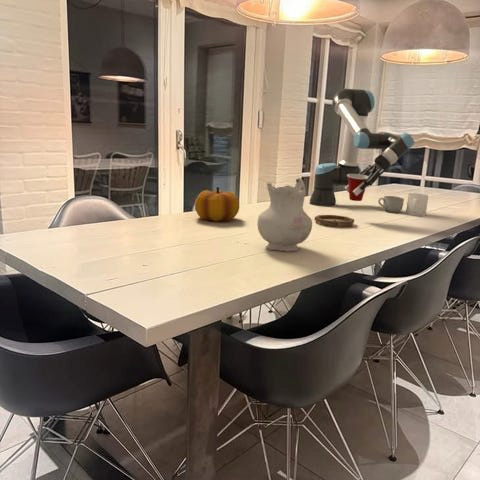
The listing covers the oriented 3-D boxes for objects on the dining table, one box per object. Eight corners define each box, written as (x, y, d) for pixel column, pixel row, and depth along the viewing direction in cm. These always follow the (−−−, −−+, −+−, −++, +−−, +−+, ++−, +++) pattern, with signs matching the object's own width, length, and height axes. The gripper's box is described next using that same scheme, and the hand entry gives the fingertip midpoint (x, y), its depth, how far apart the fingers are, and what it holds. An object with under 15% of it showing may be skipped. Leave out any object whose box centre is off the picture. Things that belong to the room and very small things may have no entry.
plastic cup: (349, 201, 225) (352, 176, 222) (341, 197, 236) (343, 173, 233) (371, 202, 227) (374, 177, 224) (362, 198, 237) (364, 174, 234)
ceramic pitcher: (270, 240, 188) (269, 177, 183) (319, 243, 181) (319, 177, 175) (250, 253, 168) (248, 182, 163) (304, 257, 161) (304, 183, 156)
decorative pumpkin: (248, 222, 217) (250, 189, 214) (205, 225, 206) (206, 190, 202) (226, 214, 234) (228, 183, 230) (185, 216, 222) (186, 184, 219)
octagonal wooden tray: (309, 220, 227) (309, 213, 226) (340, 219, 233) (341, 212, 232) (326, 228, 212) (327, 220, 211) (359, 227, 217) (360, 219, 216)
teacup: (400, 210, 269) (401, 196, 267) (404, 214, 259) (406, 199, 257) (374, 209, 271) (376, 195, 269) (378, 212, 260) (380, 197, 258)
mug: (423, 217, 251) (426, 197, 249) (403, 215, 255) (406, 195, 253) (426, 213, 263) (429, 194, 260) (407, 211, 267) (409, 192, 265)
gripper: (401, 168, 219) (364, 201, 220) (380, 163, 240) (346, 193, 242) (391, 156, 217) (354, 189, 218) (371, 152, 238) (337, 183, 239)
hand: (350, 191), depth 230 cm, fingers closed on plastic cup, 9 cm apart
